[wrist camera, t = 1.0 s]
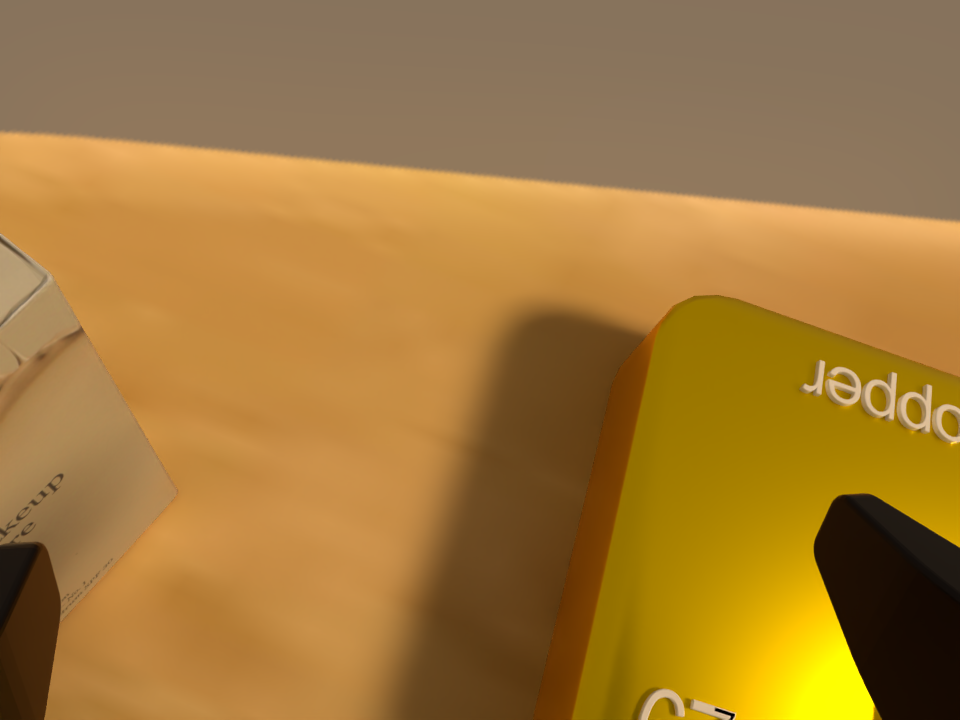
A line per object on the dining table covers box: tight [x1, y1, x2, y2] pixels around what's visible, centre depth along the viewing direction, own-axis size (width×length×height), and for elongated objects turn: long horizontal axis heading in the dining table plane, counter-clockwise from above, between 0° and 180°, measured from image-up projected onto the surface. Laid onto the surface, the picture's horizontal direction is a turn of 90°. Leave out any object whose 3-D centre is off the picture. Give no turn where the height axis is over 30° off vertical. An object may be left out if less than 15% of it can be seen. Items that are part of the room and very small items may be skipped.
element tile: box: [533, 295, 960, 720], centre depth 23 cm, size 15×15×5 cm
